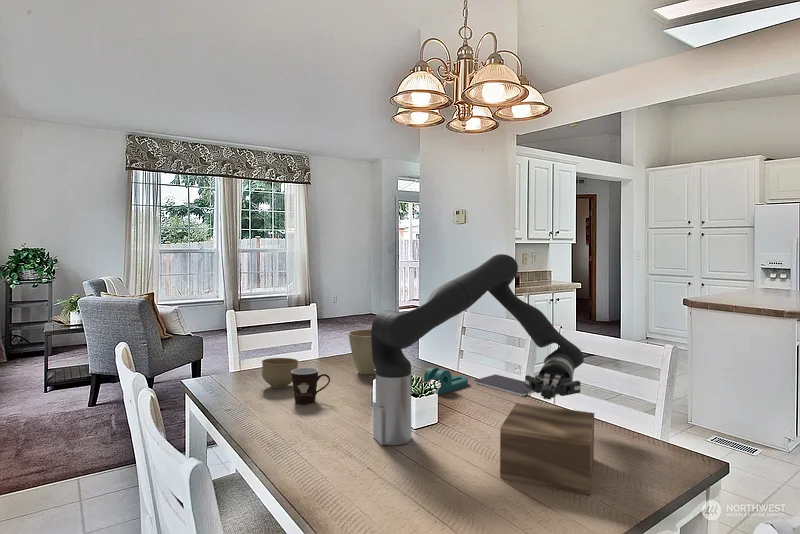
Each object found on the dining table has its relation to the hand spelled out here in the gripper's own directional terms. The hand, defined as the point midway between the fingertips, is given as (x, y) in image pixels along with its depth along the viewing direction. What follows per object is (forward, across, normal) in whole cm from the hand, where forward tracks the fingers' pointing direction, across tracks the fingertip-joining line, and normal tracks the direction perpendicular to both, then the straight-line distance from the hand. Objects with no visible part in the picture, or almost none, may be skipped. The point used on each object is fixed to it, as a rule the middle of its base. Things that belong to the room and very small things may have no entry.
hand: (547, 394), depth 104 cm
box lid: (-4, 0, +8) cm, 9 cm away
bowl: (-30, -95, +18) cm, 101 cm away
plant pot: (-60, -76, +18) cm, 99 cm away
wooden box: (-4, 0, +18) cm, 18 cm away
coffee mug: (-20, -76, +18) cm, 81 cm away
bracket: (-54, -41, +18) cm, 70 cm away
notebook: (-64, -22, +19) cm, 70 cm away
